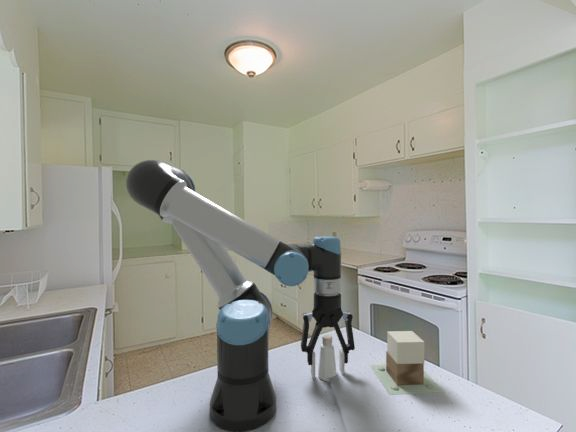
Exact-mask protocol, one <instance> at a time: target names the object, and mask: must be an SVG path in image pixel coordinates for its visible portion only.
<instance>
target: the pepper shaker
mask: <svg viewBox="0 0 576 432" xmlns="http://www.w3.org/2000/svg"><path fill="white" fill-rule="evenodd" d="M321 339H322V340H321V341H322V343H321V344H320V349H319V359H318V368H317V369H318V370H317V376H318V379H320V380H322V381H324V382H331V378H334V377H335V376H337V365H336V354H335V346H334V344H333V337H332V335H330V334H323V335H322V337H321Z"/></svg>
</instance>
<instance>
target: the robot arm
mask: <svg viewBox="0 0 576 432" xmlns="http://www.w3.org/2000/svg"><path fill="white" fill-rule="evenodd" d="M125 186H126V190H127V193H128V196H129V197H130V198H131V199H132V200H133V201H134V202H135V203H136V204H138V205H140V206H142V207H144V208H146V209H148V210H149V211H151V212H153V213H155V214H156V215H158V216H159V218H160V220H161V221H162V222H163V223H167V224H170V225H171V226H172V227H173V228H174V230H175V231H176V233H177V235H178V236H179V238H180V239H181V241H182V243H183V245H185V247H186V249H187V250H188V252H189V253H190V255H191V256H192V258H193V260H194V261H195V263H196V264H197V266H198V267H199V269H200V270H201V272H202V274H203V275H204V277H205V278H206V279H207V282H208V283H209V285H210V287H212V289H213V291H214V292H215V294H216V295H217V298H218V300H217V301H218V302H217V305H216V306H217V309H218V310H219V311H218V314H217V319H216V324H215V326H216V329H215V330H216V339H217V340H216V348H217V349H216V351H217V352H216V354H217V357H216V359H217V363H216V365H217V378H216V380H215V384H214V388H213V391H212V394H211V397H210V401H209V417H210V419H211V421H212V422H213V424H214V425H215V426H217V427H218V428H220V429H222V430H225V431H230V432H245V431H250V430H253V429H254V430H255V429H257V428H259V427H261V426H264V425H265V424H267V422H269V421H270V420H271V419H272V417H273V416H275V415H274V414H275V413H276V410H277V395H276V391H275V389H274V385H273V382H272V380H271V377H270V373H269V339H270V338H269V336H270V330H271V324H272V319H273V307H272V303H271V301H270V299H269V298H268V296H267V295H266V294H265V293H264V292H262V291H260V290H259V287H257V285H256V284H255V282H254V281H253V280H247V279H246V278H245V275H243V273H242V272H241V270H240V269H239V267H238V266H237V264H236V262H235V261H234V259H233V258H232V256H231V254H230V253H229V252H228V250H230V251H232V252H234V254H237V255H239V256H241V257H242V258H244V259H245V260H247V261H249V262H251V263H253V264H254V265H256V266H258V267H260V268H262V269H263V270H265V271H267V273H270V274H272V275H273V276H275V278H276V279H277V280H278V282H280V283H281V284H282V285H285V287H286V286H287V287H296V286H299V285H301V284H302V283H303V282H304V281H305V280H306V279H307V277H308V275H309V272H313V292H314V293H313V309H312V311H311V312H309V313H306V312H303V313H302V319H303V326H302V332H301V333H302V334H301V342H300V349H301V352H303V353H306V354H307V355H306V357H307V360H306V361H307V364H308V366H310V367H311V368H310V373H311V377H312V379H316V353H315V348H316V347H315V346H316V344H317V342H318V340H319V336H320V334H321V332H322V331H323V328H334V332H335V333H336V336H337V339H338V341H339V343H340V347H341V348H339V349H338V351H339V352H338V359H339V360H338V361H339V364H338V365H339V366H338V367H339V371H340V374H341V376H342V375H345V364H348V362H349V353H350V351H355V339H354V333H353V325H352V322H353V316H354V315H352V313H351V312H350V311H347V312H346V311H343V310H342V295H341V292H342V250H341V247H342V246H341V240H340V239H339V237H337V236H332V235H330V236H328V235H323V236H314V238H313V239H312V243H307V244H306V243H305V244H304V243H303V244H302V243H299V244H298V243H284V242H283V241H281V240H279V239H277V238H276V237H274V236H273V235H270V234H269V233H267V232H266V231H264V230H262V229H260V228H258V227H257V226H255V225H252V223H249V222H248V221H246V220H244V219H242V218H241V217H239V216H237V215H235V214H234V213H232V212H230V211H228V210H227V209H226V208H223V207H222V206H220V205H218V204H216V203H215V202H213V201H211V200H210V199H207V198H206V197H204V196H203V195H200V194H199V193H197V191H196V186H195V183H194V180H193V178H192V177H191V176H190V175H189V174H188V173H187V172H186V171H184V170H183V169H181V168H179V167H176V166H173V165H169V164H167V163H165V162H162V161H160V160H157V159H156V160H154V159H148V160H143V161H141V162H138V163H137V164H135V165H134V166H132V168H131V169H130V170H129V171H128V173H127V176H126V180H125ZM312 318H313V319H314V321H316V322H315V324H314V329H313V331H312V334H311V337H310V339H309V330H310V322H312ZM342 318H343V320H344V324H345V330H346V331H345V332H346V337H347V338H346V339H347V343H346V341H345V338H344V336H343V333H342V331H341V328H340V325H339V322H340V321H341V319H342ZM308 339H309V342H308Z"/></svg>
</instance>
